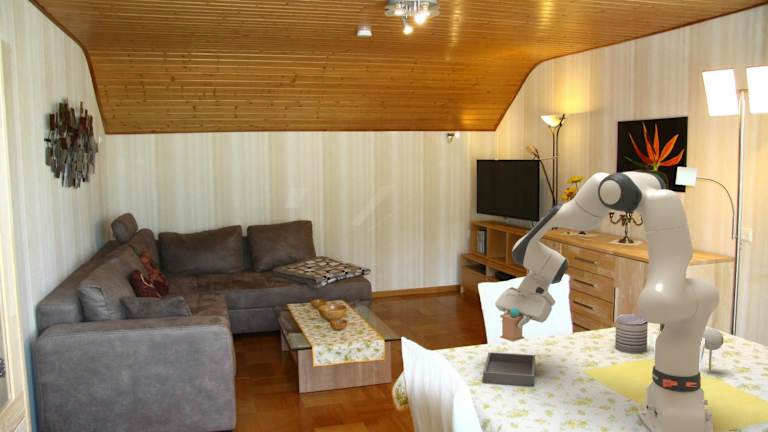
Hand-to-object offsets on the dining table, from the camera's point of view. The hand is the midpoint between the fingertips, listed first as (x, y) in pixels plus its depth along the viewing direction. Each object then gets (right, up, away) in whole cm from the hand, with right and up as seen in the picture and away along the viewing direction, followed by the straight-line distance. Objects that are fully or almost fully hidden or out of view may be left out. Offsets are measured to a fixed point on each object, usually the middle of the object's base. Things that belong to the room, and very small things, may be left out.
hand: (510, 325), depth 209 cm
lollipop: (+66, -16, 0) cm, 68 cm away
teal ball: (+1, +4, -1) cm, 5 cm away
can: (+49, -13, +25) cm, 57 cm away
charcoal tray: (0, -16, +2) cm, 17 cm away
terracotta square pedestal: (+1, -4, +1) cm, 4 cm away
